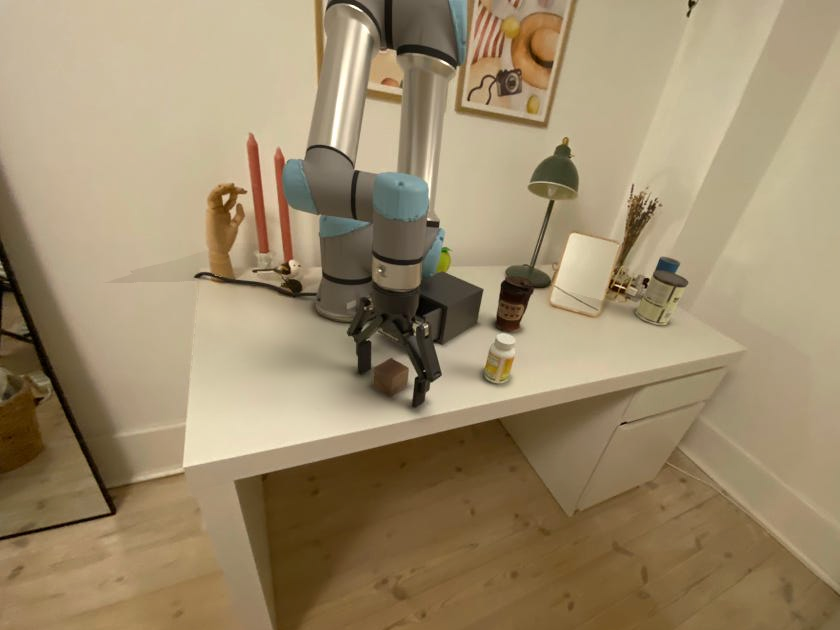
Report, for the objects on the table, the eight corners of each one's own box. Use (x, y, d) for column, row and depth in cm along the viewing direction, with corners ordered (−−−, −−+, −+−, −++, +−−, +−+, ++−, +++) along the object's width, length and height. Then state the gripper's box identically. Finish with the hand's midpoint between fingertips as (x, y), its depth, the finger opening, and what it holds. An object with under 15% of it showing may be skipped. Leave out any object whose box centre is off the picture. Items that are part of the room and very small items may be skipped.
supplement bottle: (483, 382, 77) (492, 343, 72) (483, 367, 82) (492, 329, 76) (508, 386, 78) (519, 347, 72) (507, 370, 82) (517, 333, 77)
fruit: (427, 267, 122) (430, 237, 117) (452, 276, 120) (457, 245, 115) (412, 275, 115) (415, 243, 110) (439, 284, 113) (443, 252, 107)
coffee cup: (520, 338, 95) (534, 291, 88) (489, 330, 96) (499, 283, 88) (524, 323, 102) (536, 278, 95) (494, 315, 103) (504, 270, 96)
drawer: (403, 361, 77) (406, 328, 72) (363, 338, 81) (363, 305, 77) (454, 331, 90) (459, 302, 86) (417, 313, 94) (420, 284, 90)
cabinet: (442, 344, 86) (447, 306, 81) (400, 322, 91) (403, 285, 85) (476, 323, 97) (483, 288, 92) (438, 305, 102) (442, 271, 97)
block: (407, 386, 72) (409, 367, 69) (390, 397, 69) (391, 378, 66) (390, 376, 74) (391, 357, 71) (373, 386, 70) (373, 367, 68)
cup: (662, 301, 136) (681, 261, 127) (658, 306, 131) (679, 265, 122) (643, 294, 138) (661, 255, 130) (639, 299, 133) (658, 258, 125)
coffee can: (640, 307, 127) (658, 267, 119) (670, 319, 123) (691, 279, 115) (631, 315, 120) (650, 274, 112) (663, 329, 116) (685, 287, 108)
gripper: (322, 261, 61) (328, 366, 73) (445, 320, 52) (429, 430, 63) (358, 253, 67) (358, 351, 78) (474, 305, 57) (455, 408, 69)
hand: (390, 387), depth 71 cm, fingers open, 13 cm apart
